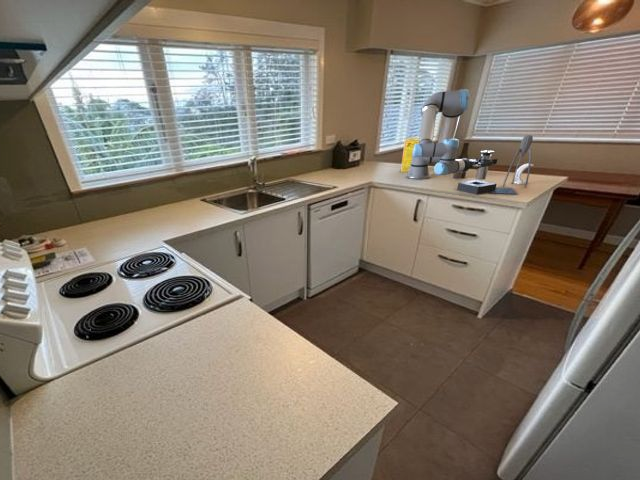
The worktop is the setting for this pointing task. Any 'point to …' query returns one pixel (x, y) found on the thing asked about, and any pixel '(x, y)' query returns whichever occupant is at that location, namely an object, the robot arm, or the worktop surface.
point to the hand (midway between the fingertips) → (491, 160)
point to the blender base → (476, 186)
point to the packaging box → (408, 153)
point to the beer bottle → (462, 156)
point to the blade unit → (483, 170)
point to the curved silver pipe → (518, 174)
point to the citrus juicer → (524, 149)
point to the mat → (503, 191)
